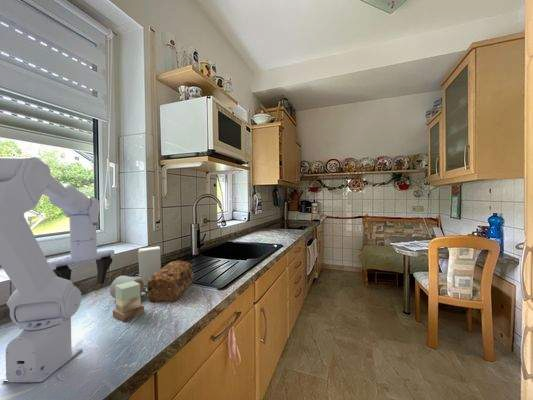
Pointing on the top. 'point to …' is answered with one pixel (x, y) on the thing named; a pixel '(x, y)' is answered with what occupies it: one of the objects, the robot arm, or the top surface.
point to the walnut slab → (128, 314)
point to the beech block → (128, 304)
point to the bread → (170, 281)
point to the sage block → (127, 290)
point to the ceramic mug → (124, 280)
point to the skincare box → (149, 262)
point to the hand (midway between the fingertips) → (85, 288)
